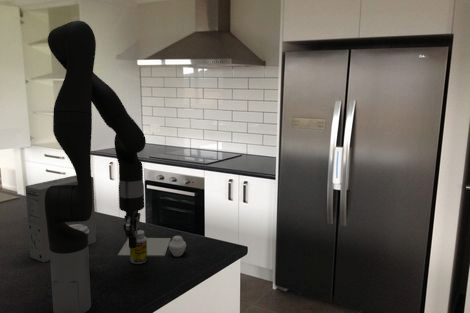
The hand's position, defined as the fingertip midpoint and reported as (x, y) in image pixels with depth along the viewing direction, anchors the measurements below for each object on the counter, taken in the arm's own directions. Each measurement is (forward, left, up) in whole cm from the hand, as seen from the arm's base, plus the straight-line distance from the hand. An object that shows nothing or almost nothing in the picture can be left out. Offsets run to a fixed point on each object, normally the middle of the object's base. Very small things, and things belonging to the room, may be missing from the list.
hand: (133, 247), depth 129 cm
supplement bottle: (+8, 0, -8) cm, 11 cm away
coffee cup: (-2, +17, -8) cm, 19 cm away
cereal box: (+17, +28, -8) cm, 34 cm away
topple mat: (+20, 0, -8) cm, 21 cm away
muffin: (+13, -12, -8) cm, 20 cm away
